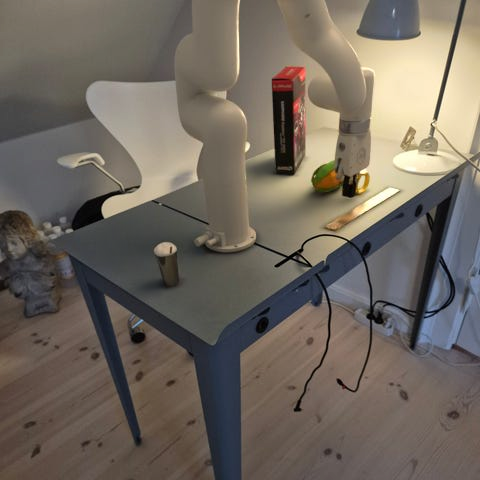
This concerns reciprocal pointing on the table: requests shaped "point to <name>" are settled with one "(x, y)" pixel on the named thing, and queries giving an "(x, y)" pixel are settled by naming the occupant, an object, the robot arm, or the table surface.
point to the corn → (325, 178)
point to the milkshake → (167, 263)
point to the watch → (366, 182)
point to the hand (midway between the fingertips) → (348, 196)
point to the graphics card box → (289, 119)
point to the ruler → (361, 209)
